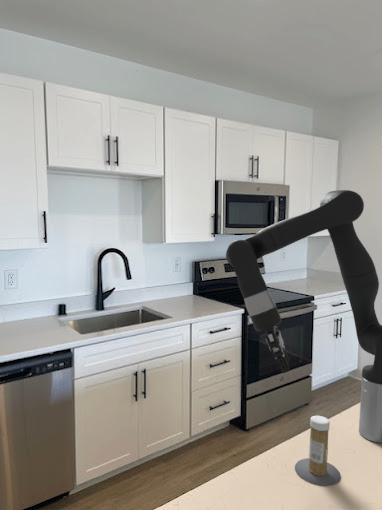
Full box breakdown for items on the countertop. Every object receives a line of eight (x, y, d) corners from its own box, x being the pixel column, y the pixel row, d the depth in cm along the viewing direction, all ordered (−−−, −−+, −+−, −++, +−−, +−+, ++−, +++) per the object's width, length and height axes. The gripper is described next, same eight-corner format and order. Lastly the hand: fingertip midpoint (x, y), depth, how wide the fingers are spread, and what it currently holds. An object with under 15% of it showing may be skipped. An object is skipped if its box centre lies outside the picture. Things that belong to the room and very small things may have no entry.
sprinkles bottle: (330, 473, 96) (333, 420, 96) (319, 479, 94) (321, 425, 93) (315, 463, 100) (318, 413, 99) (304, 469, 98) (306, 417, 97)
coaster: (314, 454, 105) (314, 453, 105) (350, 476, 95) (350, 476, 95) (285, 466, 99) (285, 466, 99) (321, 491, 89) (321, 491, 89)
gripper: (274, 307, 96) (300, 369, 94) (276, 303, 110) (299, 357, 108) (246, 317, 98) (271, 379, 95) (251, 312, 111) (274, 366, 109)
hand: (286, 367), depth 101 cm, fingers open, 8 cm apart
